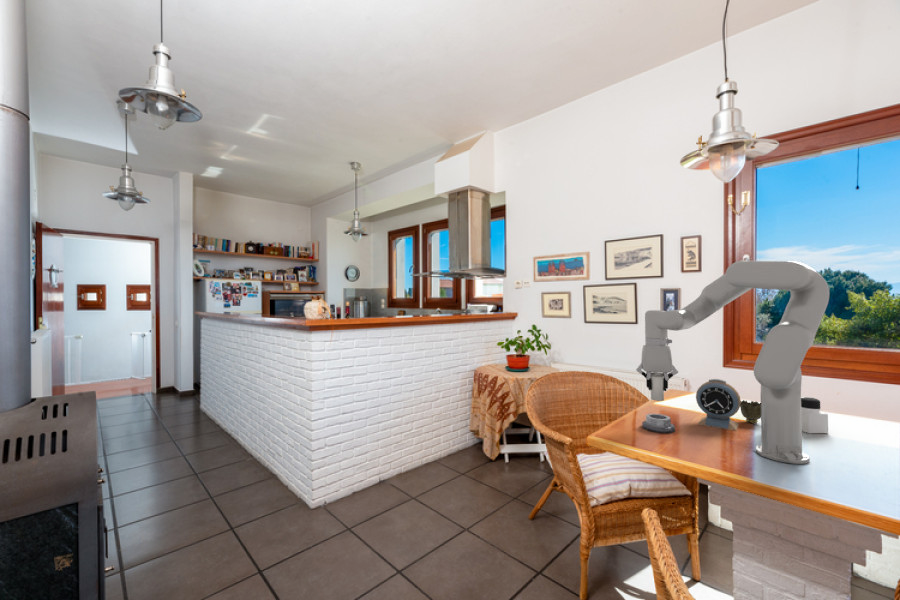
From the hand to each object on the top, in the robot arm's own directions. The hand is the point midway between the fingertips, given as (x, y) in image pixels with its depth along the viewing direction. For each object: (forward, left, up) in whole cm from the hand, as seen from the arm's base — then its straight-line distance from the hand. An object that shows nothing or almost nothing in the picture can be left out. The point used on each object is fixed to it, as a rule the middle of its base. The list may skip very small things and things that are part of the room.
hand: (657, 389), depth 145 cm
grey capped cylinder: (0, 0, -4) cm, 4 cm away
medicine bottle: (+13, -52, -15) cm, 56 cm away
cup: (+18, -36, -15) cm, 43 cm away
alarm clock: (+12, -23, -15) cm, 30 cm away
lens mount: (0, 0, -15) cm, 15 cm away
